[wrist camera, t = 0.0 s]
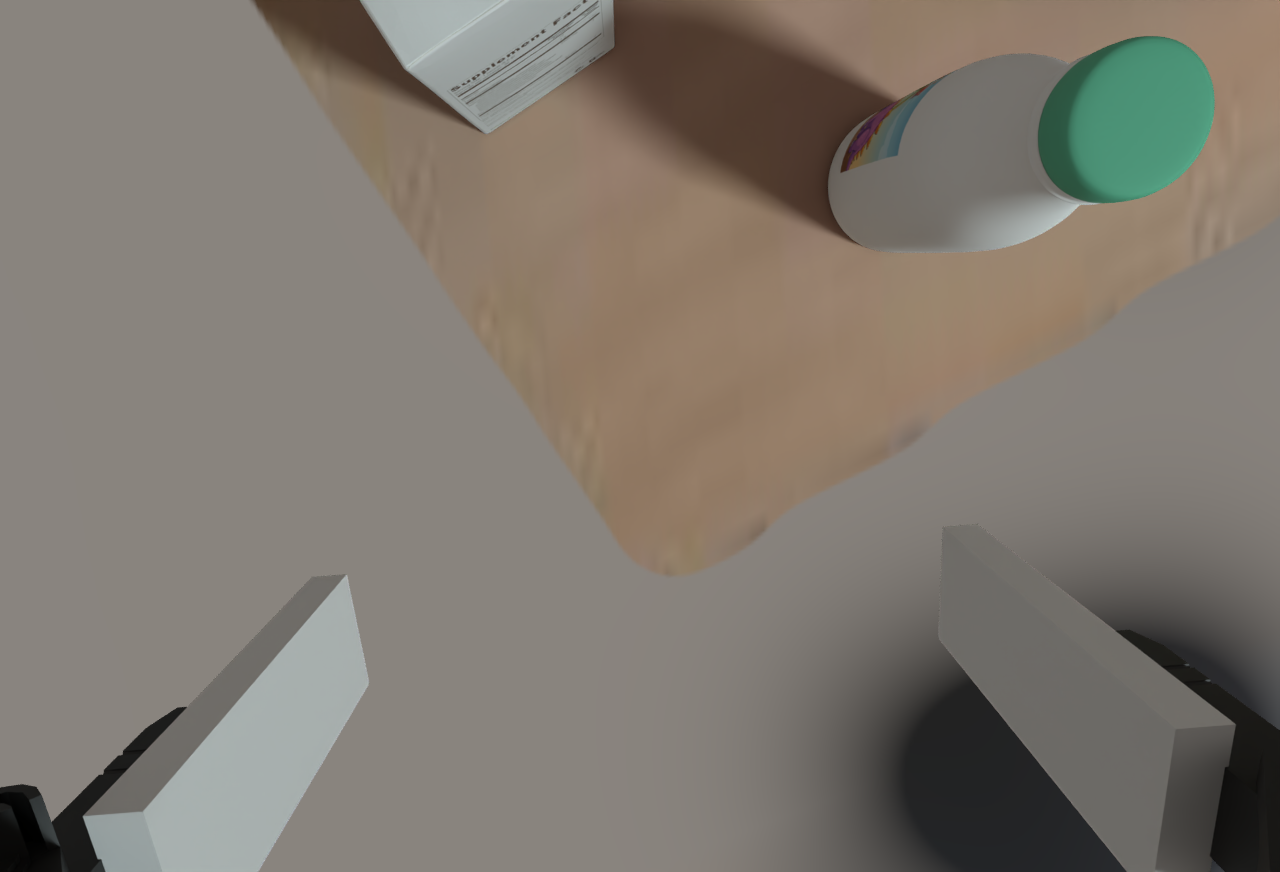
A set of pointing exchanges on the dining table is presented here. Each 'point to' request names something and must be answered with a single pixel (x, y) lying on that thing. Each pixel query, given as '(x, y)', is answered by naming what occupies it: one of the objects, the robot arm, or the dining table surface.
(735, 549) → the dining table surface
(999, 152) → the milk bottle
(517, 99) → the supplement box
